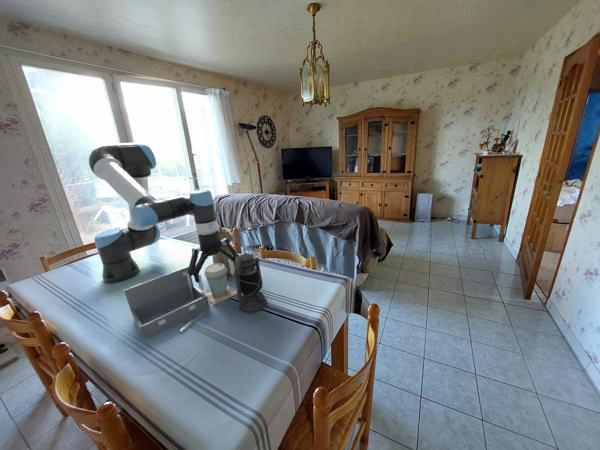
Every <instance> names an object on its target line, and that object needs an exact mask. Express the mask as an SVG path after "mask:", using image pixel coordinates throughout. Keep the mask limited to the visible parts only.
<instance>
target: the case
mask: <svg viewBox="0 0 600 450" xmlns="http://www.w3.org/2000/svg"><path fill="white" fill-rule="evenodd" d="M188 268H189V265H187V266H183V267H181V268H179V269H176V270H173V271H170V272H168V273H165V274H162V275H160V276H157V277H155V278H151V279H148V280H146V281H144V282H140V283H138V284H136V285H133V286H130V287H127V288H125V289H123V292H124V295H125V298H126V300H127V303H128V306H129V309H130V312H131V315H132V318H133V320H134V321H133V322H134V323H135V325H136V328H137V330H138V331H139V333H140V335H141V336H142V339H143V341H146V340H148V339H150V338H152V337H153V336H156V335H158V334H160V333H162V332H164V331H166V330H167V329H169V328H172V327H174V326H175V325H177V324H179V323H182V322H184V321H186V320H188V319H189V318H191V317H194V316H196V315H197V314H198V313H199V312H200V311H201V312H204V311H205V310H206V309H208V308H210V305H209V300H208V299H207V296H206V295H205V294H206V293H204V292H203V290H201V289H200V288H199V287H197V286H196V285H195V284H194V282H193V278H192V277H193V276H190V275H189V274H188V273H187V272H188ZM195 298H196V299H195ZM189 299H195V300H193V301H191V302H189V303H186V304H184V305H182V306H180V307H178V308H176V309H173V310H171V311H169V312H168V313H165V314H162V315H160V316H159V317H157V318H155V319H153V320H151V321H148V322H146V323H144V324H142V322H141V321H144V320H146V319H147V318H150V317H153V316H155V315H157V314H159V313H160V312H163V311H166V310H168V309H169V308H172V307H174V306H177V305H179V304H181V303H182V302H183V303H184V301H187V300H189Z"/></svg>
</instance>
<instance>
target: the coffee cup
mask: <svg viewBox="0 0 600 450" xmlns="http://www.w3.org/2000/svg"><path fill="white" fill-rule="evenodd" d="M226 271H227V269H226V267H225V265H224V264H221V263H216V264H213V263H212V264H210V265H207V267H205V269H204V277H206V281H207V284H208V287H209V290H210V291H211V293H212V295H213V297H215V298H220V297H223V296H225V295H226V294H227V285H228V280H227V279H228V278H227V276H228V275H226Z"/></svg>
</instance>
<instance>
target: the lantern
mask: <svg viewBox="0 0 600 450" xmlns="http://www.w3.org/2000/svg"><path fill="white" fill-rule="evenodd" d="M241 232H242V233H244V234H246V235H247V236H246V237H247V239H248V243H249V246H250V248H251V250H252V252H253V253H246V248H244V249H243V252H244V253H243V254H241V255H239V257H238V260H239V261H237V265H238V268H237V269H236V270H234V275H233V277H235V284H236V292H237V294H236V295H237V300H238V310H239V311H240V312H241V313H243V314H248V315H250V314H256V313H259V312H261V311H263V310H264V309H265V308H266V306H267V305H268V300H267V297H266V296H265V295H264V293H263V292H262V291H261V290H262V289H263V286H264V285H263V278H262V273H261V272H262V271H261V268H260V258H259V257H257V255H256V253H255V250H254V248H253V246H252V244H251V241H250V237H249V233H248V232H246V231H244V230H242V229H240V230H239V233H238V235H237V237H236V239H238V238H239V236H240V234H241ZM235 243H236V248H235V249H236V250H235V251H236V257H237V254H238V242H235ZM235 267H236V258H235Z"/></svg>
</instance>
